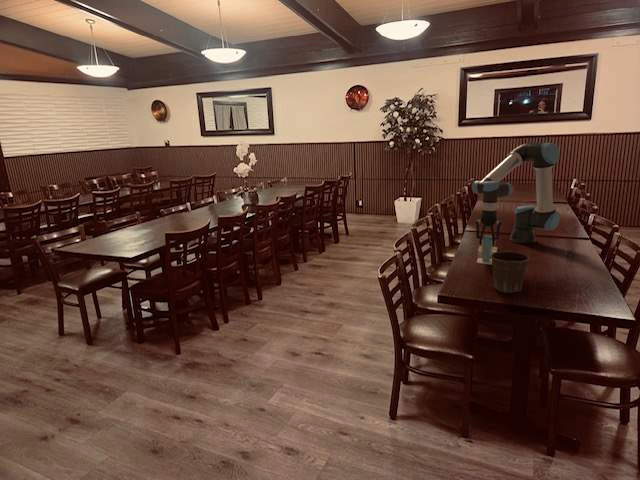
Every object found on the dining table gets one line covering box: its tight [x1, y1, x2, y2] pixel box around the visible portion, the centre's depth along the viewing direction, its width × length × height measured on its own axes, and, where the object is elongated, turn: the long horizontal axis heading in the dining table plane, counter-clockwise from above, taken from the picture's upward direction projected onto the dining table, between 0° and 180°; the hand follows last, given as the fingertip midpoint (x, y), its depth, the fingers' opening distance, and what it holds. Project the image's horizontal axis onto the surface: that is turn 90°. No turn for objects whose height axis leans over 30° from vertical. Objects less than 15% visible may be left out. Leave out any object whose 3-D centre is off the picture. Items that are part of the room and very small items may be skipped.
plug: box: [481, 234, 492, 261], centre depth 234 cm, size 4×4×14 cm
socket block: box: [477, 245, 498, 259], centre depth 247 cm, size 10×10×4 cm
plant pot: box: [490, 251, 530, 294], centre depth 195 cm, size 16×16×16 cm
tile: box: [476, 257, 493, 266], centre depth 236 cm, size 9×9×1 cm
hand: (486, 250), depth 235 cm, fingers open, 4 cm apart
